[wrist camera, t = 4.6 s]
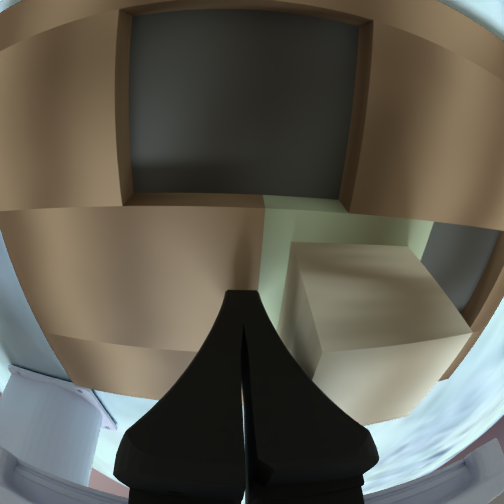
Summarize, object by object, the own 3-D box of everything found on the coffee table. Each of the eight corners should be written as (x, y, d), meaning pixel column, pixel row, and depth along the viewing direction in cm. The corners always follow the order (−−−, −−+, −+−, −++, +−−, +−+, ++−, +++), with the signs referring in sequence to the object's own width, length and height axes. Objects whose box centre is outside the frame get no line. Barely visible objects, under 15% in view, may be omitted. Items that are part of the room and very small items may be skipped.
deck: (81, 369, 17) (74, 385, 16) (5, 23, 6) (-15, 22, 4) (441, 365, 19) (448, 378, 18) (544, 88, 7) (561, 94, 6)
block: (276, 336, 13) (288, 435, 9) (291, 241, 10) (322, 351, 6) (373, 332, 13) (407, 416, 9) (407, 246, 11) (473, 332, 7)
